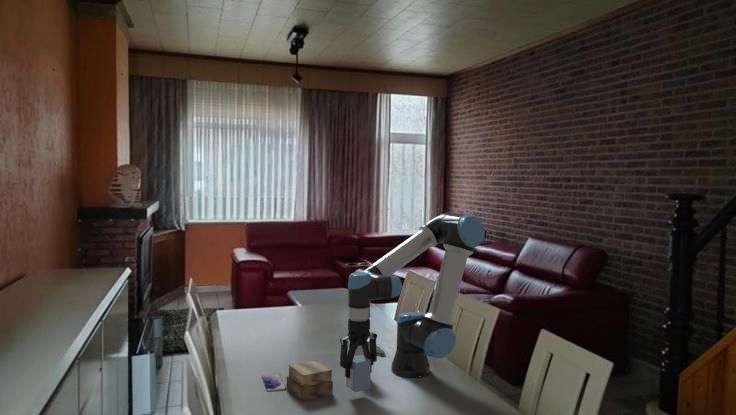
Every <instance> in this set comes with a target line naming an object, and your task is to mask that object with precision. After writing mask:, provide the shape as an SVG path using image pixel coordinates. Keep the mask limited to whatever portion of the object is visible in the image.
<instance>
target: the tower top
mask: <svg viewBox="0 0 736 415" xmlns="http://www.w3.org/2000/svg"><path fill="white" fill-rule="evenodd" d="M332 372H333V370H332V369H331V368H330V367H329V366H327V365H325V364H323V363H322V362H321V361H319V360H312V361H304V362H299V363H293V364H289V365H288V376H289V377H290V378H292V379H293V380H294V381H296V382H297V383H298V384H299V385H301V386H302V387H306V386H311V385H315V384H320V383H325V382H330V381H332V379H333V378H332V377H333V376H332V374H333V373H332Z"/></svg>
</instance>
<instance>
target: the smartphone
mask: <svg viewBox="0 0 736 415" xmlns="http://www.w3.org/2000/svg"><path fill="white" fill-rule="evenodd" d="M261 380H262V382H263V386H264V389H265V392H267V393H270V392H280V391H282V392H283V391H287V389H286V387H287V385H285V382H284V381H283V377H282V375H281V374H280V373H273V374H263V375H261Z"/></svg>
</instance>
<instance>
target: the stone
mask: <svg viewBox="0 0 736 415" xmlns="http://www.w3.org/2000/svg"><path fill="white" fill-rule="evenodd" d="M369 352H370V350H369ZM376 353H377V355H378V356H377V357H384V355H386V351H384V350H382V349H381V347H380V346H378V345H376Z"/></svg>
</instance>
